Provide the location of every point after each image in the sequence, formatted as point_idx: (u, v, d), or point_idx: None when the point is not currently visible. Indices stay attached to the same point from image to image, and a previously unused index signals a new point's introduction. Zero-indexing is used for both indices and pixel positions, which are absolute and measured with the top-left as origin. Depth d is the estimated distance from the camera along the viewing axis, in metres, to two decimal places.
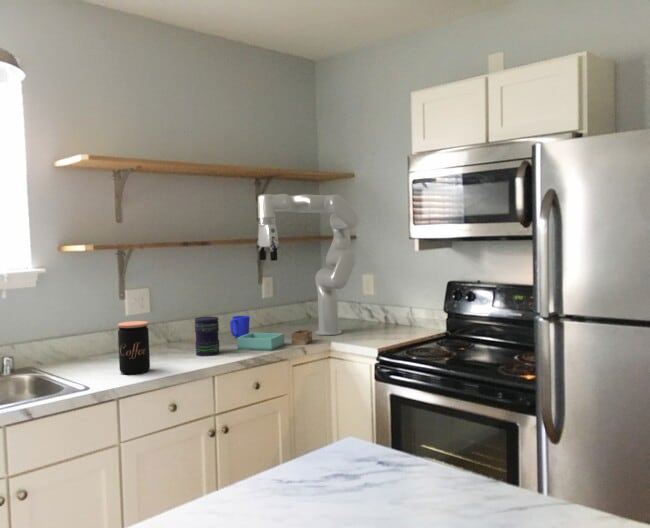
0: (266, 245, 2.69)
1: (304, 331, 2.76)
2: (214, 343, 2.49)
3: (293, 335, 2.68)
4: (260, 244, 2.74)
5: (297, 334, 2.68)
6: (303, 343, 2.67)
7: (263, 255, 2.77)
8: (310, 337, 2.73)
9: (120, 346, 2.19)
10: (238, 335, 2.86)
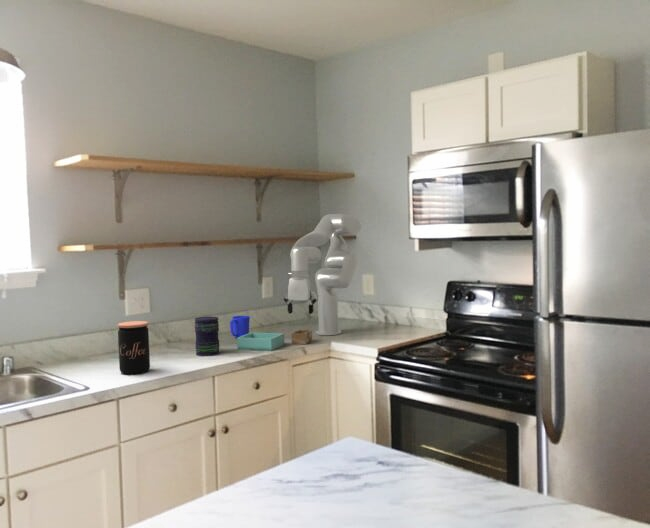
0: None
1: (304, 331, 2.76)
2: (214, 343, 2.49)
3: (293, 335, 2.68)
4: None
5: (297, 334, 2.68)
6: (303, 343, 2.67)
7: None
8: (310, 337, 2.73)
9: (120, 346, 2.19)
10: (238, 335, 2.86)
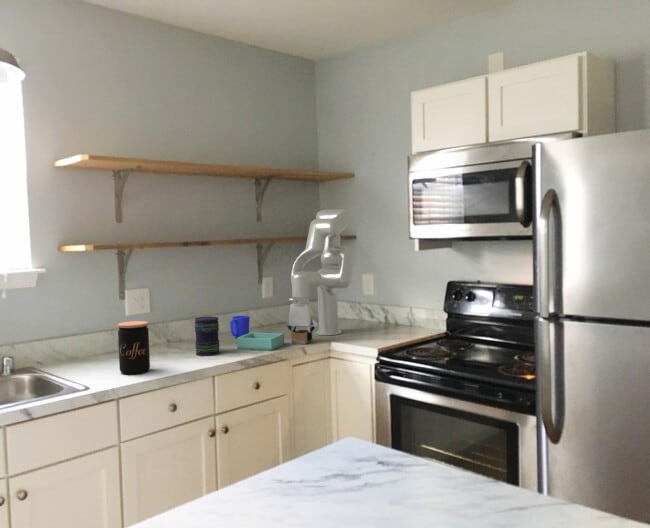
0: None
1: (304, 331, 2.76)
2: (214, 343, 2.49)
3: (293, 335, 2.68)
4: None
5: (297, 334, 2.68)
6: (303, 343, 2.67)
7: None
8: None
9: (120, 346, 2.19)
10: (238, 335, 2.86)
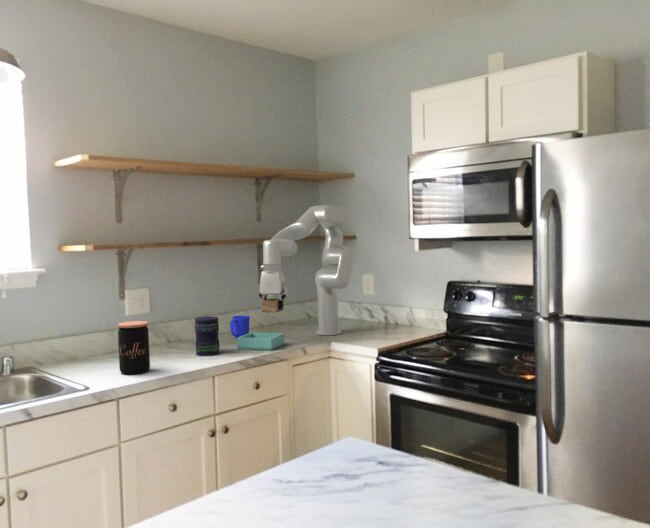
0: None
1: (275, 300, 2.69)
2: (214, 343, 2.49)
3: (263, 303, 2.62)
4: None
5: (268, 301, 2.61)
6: (274, 311, 2.61)
7: None
8: None
9: (120, 346, 2.19)
10: (238, 335, 2.86)
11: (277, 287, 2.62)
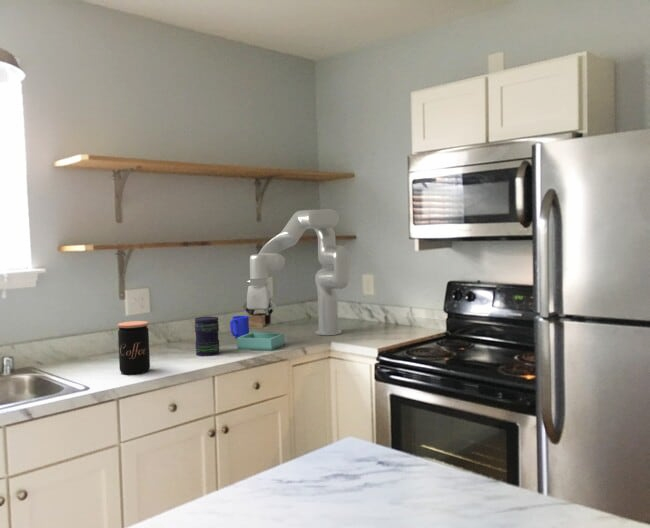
0: None
1: (263, 314, 2.67)
2: (214, 343, 2.49)
3: (250, 318, 2.60)
4: None
5: (254, 317, 2.59)
6: (260, 326, 2.59)
7: None
8: None
9: (120, 346, 2.19)
10: (238, 335, 2.86)
11: (264, 302, 2.60)
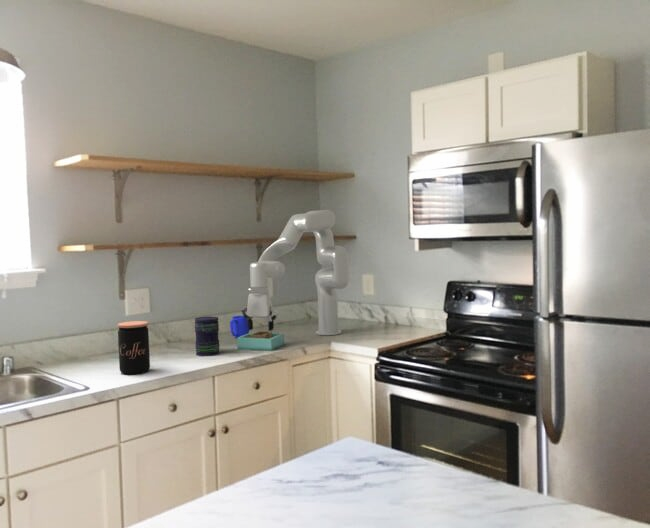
0: None
1: (264, 333, 2.68)
2: (214, 343, 2.49)
3: (251, 337, 2.61)
4: None
5: (255, 336, 2.60)
6: None
7: None
8: None
9: (120, 346, 2.19)
10: (238, 335, 2.86)
11: (264, 310, 2.60)
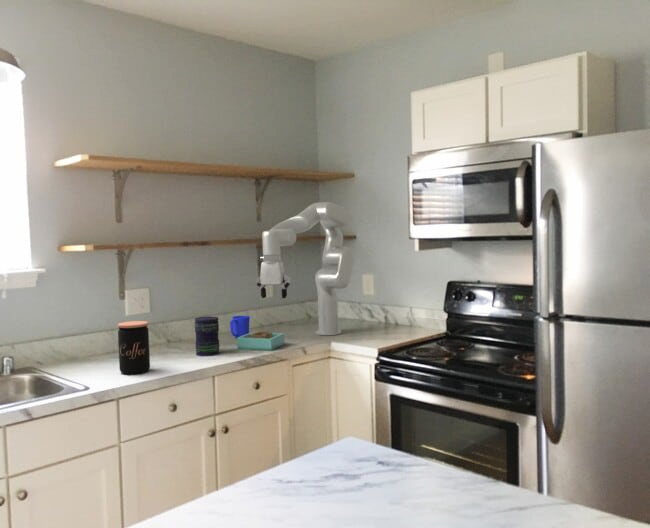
0: None
1: (264, 333, 2.68)
2: (214, 343, 2.49)
3: (251, 337, 2.61)
4: None
5: (255, 336, 2.60)
6: None
7: None
8: None
9: (120, 346, 2.19)
10: (238, 335, 2.86)
11: (277, 278, 2.61)
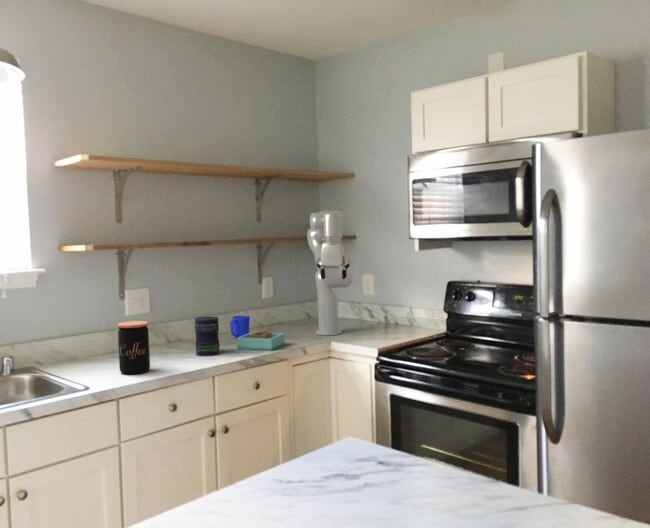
0: None
1: (264, 333, 2.68)
2: (214, 343, 2.49)
3: (251, 337, 2.61)
4: None
5: (255, 336, 2.60)
6: None
7: None
8: None
9: (120, 346, 2.19)
10: (238, 335, 2.86)
11: (338, 259, 2.66)
